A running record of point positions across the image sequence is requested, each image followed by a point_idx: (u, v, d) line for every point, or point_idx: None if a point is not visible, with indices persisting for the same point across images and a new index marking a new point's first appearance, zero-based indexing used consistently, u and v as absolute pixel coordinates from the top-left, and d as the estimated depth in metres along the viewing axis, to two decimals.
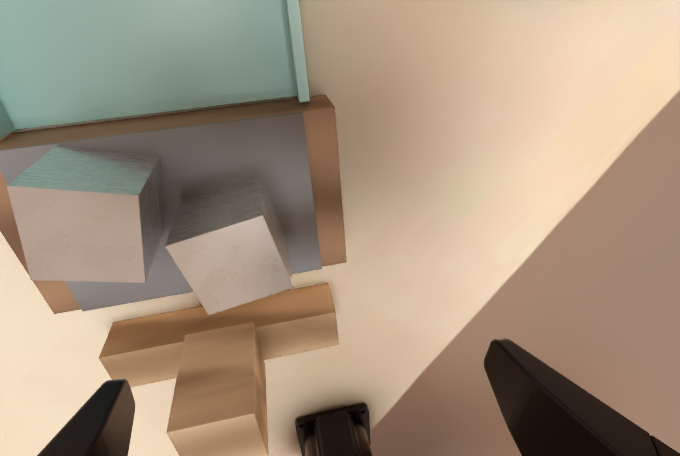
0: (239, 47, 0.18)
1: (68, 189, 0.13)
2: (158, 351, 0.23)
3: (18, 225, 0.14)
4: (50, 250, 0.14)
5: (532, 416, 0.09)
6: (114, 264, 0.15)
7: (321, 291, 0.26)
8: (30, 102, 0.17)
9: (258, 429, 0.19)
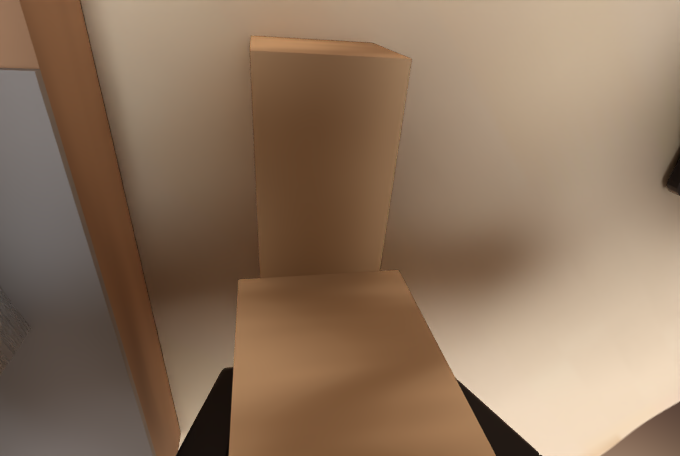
0: None
1: None
2: None
3: None
4: None
5: None
6: None
7: None
8: None
9: None
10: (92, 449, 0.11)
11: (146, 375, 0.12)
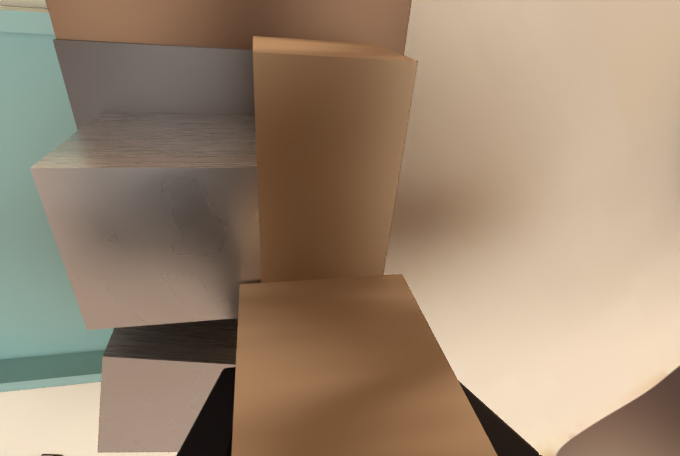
0: (12, 110, 0.12)
1: (100, 411, 0.11)
2: None
3: (155, 451, 0.12)
4: None
5: None
6: None
7: None
8: None
9: None
10: None
11: None
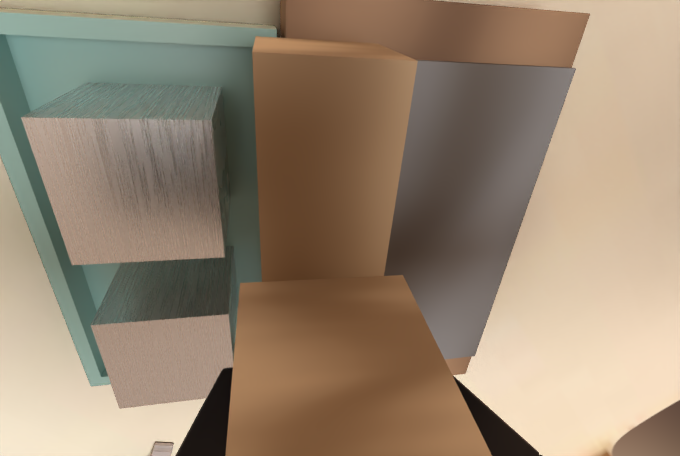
0: None
1: None
2: None
3: None
4: None
5: None
6: None
7: None
8: None
9: None
10: (456, 321, 0.17)
11: None
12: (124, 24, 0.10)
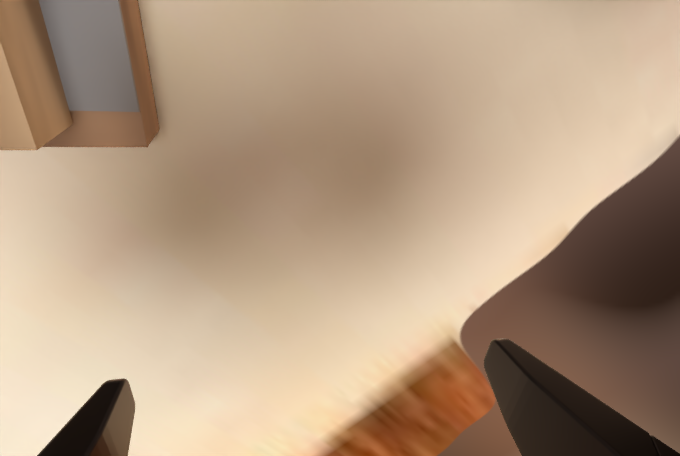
0: None
1: None
2: None
3: None
4: None
5: (532, 416, 0.09)
6: None
7: None
8: None
9: None
10: (78, 40, 0.14)
11: None
12: None
